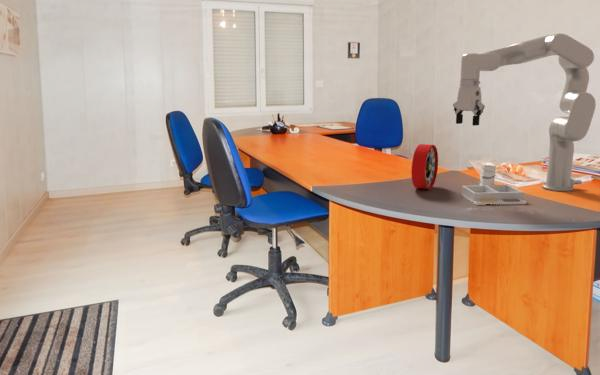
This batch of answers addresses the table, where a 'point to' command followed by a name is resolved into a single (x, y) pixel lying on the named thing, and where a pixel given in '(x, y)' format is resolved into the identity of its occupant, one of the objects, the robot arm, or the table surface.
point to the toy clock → (424, 166)
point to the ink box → (487, 173)
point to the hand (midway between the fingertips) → (467, 124)
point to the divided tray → (493, 194)
